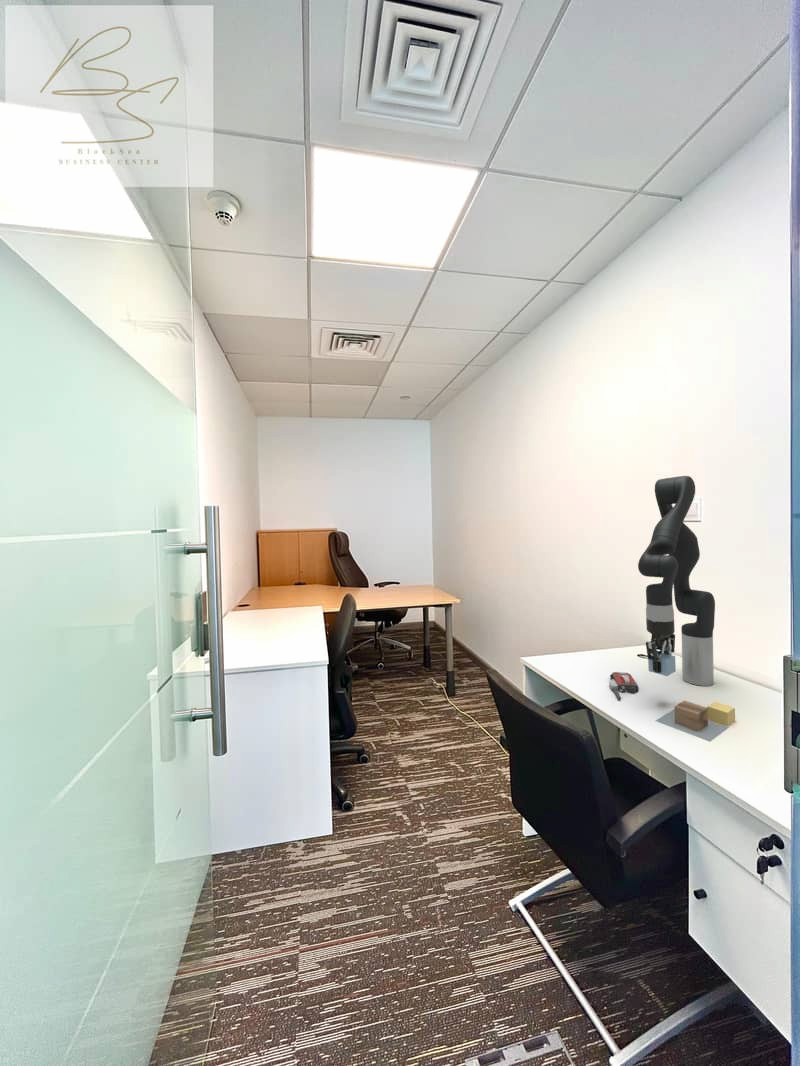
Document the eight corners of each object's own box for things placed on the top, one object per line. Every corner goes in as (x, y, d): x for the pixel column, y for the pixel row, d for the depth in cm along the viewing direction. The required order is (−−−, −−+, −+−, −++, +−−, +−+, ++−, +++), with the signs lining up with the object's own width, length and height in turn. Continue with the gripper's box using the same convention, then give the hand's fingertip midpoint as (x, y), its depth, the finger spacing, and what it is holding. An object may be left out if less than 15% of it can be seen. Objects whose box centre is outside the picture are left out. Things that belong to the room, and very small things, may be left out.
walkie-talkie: (604, 678, 157) (616, 702, 138) (604, 666, 156) (615, 689, 137) (630, 679, 154) (645, 704, 135) (629, 668, 154) (645, 691, 135)
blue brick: (657, 666, 135) (656, 651, 135) (675, 671, 130) (675, 656, 130) (648, 671, 132) (647, 655, 132) (667, 676, 127) (666, 660, 127)
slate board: (675, 711, 128) (675, 708, 128) (729, 730, 116) (729, 727, 116) (655, 723, 122) (655, 720, 122) (710, 745, 110) (710, 741, 110)
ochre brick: (714, 717, 124) (714, 701, 124) (735, 724, 120) (734, 707, 120) (707, 722, 121) (707, 706, 121) (727, 729, 117) (727, 712, 117)
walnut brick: (684, 716, 123) (684, 700, 123) (707, 724, 118) (707, 707, 118) (674, 722, 120) (674, 706, 120) (698, 731, 115) (697, 714, 115)
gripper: (658, 611, 137) (660, 660, 138) (635, 619, 129) (637, 672, 130) (683, 614, 131) (685, 666, 132) (661, 624, 123) (663, 679, 124)
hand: (661, 669), depth 131 cm, fingers closed on blue brick, 5 cm apart
